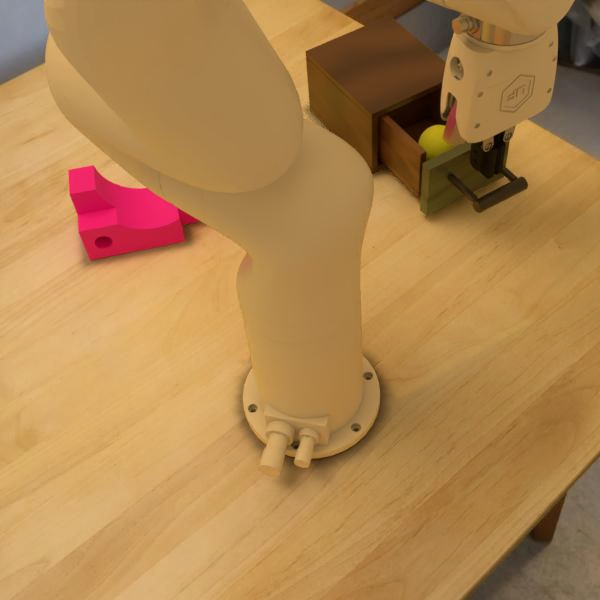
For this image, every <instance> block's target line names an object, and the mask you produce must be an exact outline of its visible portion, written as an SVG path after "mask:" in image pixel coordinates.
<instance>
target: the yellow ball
mask: <svg viewBox="0 0 600 600" xmlns="http://www.w3.org/2000/svg"><path fill="white" fill-rule="evenodd" d="M444 130H445V126H444V125H434V126H431V127H429V128H427V129H426V130H425V131H424V132H423V133H422V135H421V136H420V139H419V142H418V144H419V145H420V146H421V147H422V148H423V149H424V150H425V151H426V161H428V160H430V159H432V158H434V157H436V156H439V155H441V154H443V153H445V152H447V151H449V150H451V149H453V148H455V147H457V146H459V145H457V146H453V147H451V146H450V145H449V144H448V143H447V142H446V141H444V140H443V138H442V137H443V133H444Z"/></svg>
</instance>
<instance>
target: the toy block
mask: <svg viewBox="0 0 600 600" xmlns="http://www.w3.org/2000/svg"><path fill="white" fill-rule="evenodd" d="M67 172H68V174H67V175H68V191H69V198H70V199H71V202H72V205H73V207H74V210H75V212H76V214H77V230H78V231H77V232H78V234H79V236H80V239H81V242H82V244H83V247H84V249H85V251H86V254H87V257H88V259H89V261H93V260H98V259H99V260H100V259H104V258H107V257H108V258H109V257H114V256H119V255H124V254H129V253H133V252H139V251H144V250H149V249H154V248H159V247H164V246H169V245H173V244H180V243H184V242H186V237H185V232H184V225H190V224H195V223H200V222H201V221H200V220H198V219H196V218H194V217H193V216H191V215H189V214H188V213H186V212H184V211H182V210H181V209H179V208H177V207H176V206H174V205H172V204H171V203H169V202H167V201H166V200H164V199H162V198H161V197H159V196H158V195H156V194H155V193H153V192H152V191H150V190H149V189H148V188H146V187H138V188H136V187H128V186H123V185H120V184H117V183H116V182H115V183H114V182H113V181H111V180H109V179H107V178H106V177H104V176H103V175H102V174H101V173H100V171H98V170H97V168H96V166H95V165H94V164H92V165H87V166H81V167H75V168H71V169H68V171H67Z"/></svg>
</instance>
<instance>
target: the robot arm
mask: <svg viewBox="0 0 600 600" xmlns="http://www.w3.org/2000/svg"><path fill="white" fill-rule="evenodd" d="M426 1H427V2H430V3H432V4H435V5H438V6H440V7H443V8H445V9H447V10H452V11H456V12H458V13H460V14H459V15H458V17H456V18H454V19H452V21H451V28H452V30H453V34H452V38H451V41H450V44H449V48H448V52H447V56H446V61H445V62H446V65H445V70H444V76H443V83H442V92H441V109H440V110H441V118H442V120H444V121H447V123H446V126H445V130H444V133H443V137H442V138H443V140H444V141H446V142H447V143H448V144H449V145H450V146H451V147H453V146H457V145H460V144H464V143H465V142H468V143H471V151H470V164H471V166H472V167H473V168H474V169H475V170H476V171H479V172H480V173H481V174H482V175H483V176H484V177H486V178H487V179H490V178H492V177H493V175H494V174H496V175H498V174H500V173H501V172H502V168H503V161H504V154H505V148H506V144H505V143H506V142H507V141H509V140H510V141H511V140H512V138H513V136H514V134H515V130H516V127H517V125H519V124H521V123H522V122H525V121H526V120H529V119H530V118H532V117H534V116H537V115H538V114H540V113H541V112H543V111H544V110H545V109H547V107H548V106H549V105H550V103H551V101H552V97H553V94H554V87H555V81H556V75H557V74H556V73H557V65H558V54H559V53H558V51H559V31H558V23H559V22H560V21H561V20H562V19H564V17H565V16H566V15H567V13H568V12H569V11H570V9H571V7H572V6H573V4H574V2H575V1H576V0H426ZM43 10H44V12H43V13H44V19H45V24H46V26H47V29H48V31H49V33H48V37H47V40H46V46H45V52H44V53H45V55H44V65H45V67H44V68H45V74H46V81H47V85H48V88H49V91H50V94H51V97H52V98H53V101H54V102H55V104H56V107H57V108H58V110H59V111H60V113H61V114H62V116H63V117H64V118H65V119H66V120H67V122H69V124H70V125H72V126H73V127H74V128H75V129H76V130H77V131H78V132H79V133H80V134H82V135H83V136H84V137H85V138H86V139H87V140H88V141H90V142H91V143H92V144H93V145H94V146H95V147H97V148H98V149H99V150H100V151H102V153H103V154H105V155H106V156H107V157H108V158H109V159H111V160H112V161H113V162H114V163H115V164H117V165H118V166H119V167H120V168H121V169H122V170H124V171H125V172H126V173H127V174H128V175H130V176H131V177H132V178H134V180H136V181H137V182H138V183H140V184H141V185H142V186H143V187H144V188H148V189H149V190H150V191H152V192H153V193H155V194H156V195H158V196H159V197H161V198H162V199H164V200H166V201H167V202H169V203H171V204H172V205H174V206H176V207H177V208H179V209H181V210H182V211H184V212H186V213H188V214H189V215H191V216H193V217H194V218H196V219H198V220H200V222H201V223H203V224H204V225H206V226H208V227H210V228H211V229H212V230H214V231H215V232H216V233H218V234H220V235H222V236H223V237H225V238H227V239H228V240H230V241H231V242H233V243H235V245H237V246H239V247H240V248H241V249H242V250H244V251H245V253H246V254H244V256H243V258H242V260H241V262H240V264H239V266H238V269H237V273H236V282H235V283H236V286H235V287H236V294H237V301H238V304H239V305H238V306H239V309H240V313H241V317H242V322H243V326H244V332H245V337H246V338H245V339H246V343H247V347H248V352H249V357H250V361H251V366H252V367H251V369H250V370H249V372H248V374H247V376H246V379H245V381H244V384H243V389H242V406H243V412H244V415H245V419H246V421H247V423H248V425H249V427H250V429H251V431H252V432H253V433H254V434H255V436H256V437H257V438H258V439H259V440H260V441H261V442H262V443H263V444H265V447H264V448H263V451H262V454H261V457H260V461H259V464H258V467H257V469H258V471H259V472H260V473H262V474H264V475H265V476H269V477H278V476H280V474H281V472H282V468H283V465H284V462H285V458H286V456H288V457H291V458H294V460H293V464H294V465H295V466H296V467H299V468H301V469H308V468H309V467H310V465H311V461H312V460H313V459H322V458H327V457H332V456H334V455H337V454H340V453H343V452H345V451H347V450H348V449H350V448H352V447H353V446H354V445H356V444H357V443H358V442H360V441H361V440H362V439H363V438H364V437H365V436H366V435H367V433H368V432H369V431H370V430H371V428H372V427H373V425H374V423H375V421H376V419H377V417H378V415H379V409H380V406H381V405H380V404H381V387H380V381H379V378H378V375H377V373H376V370H375V369H374V367H373V365H372V364H371V362H370V361H369V360H368V359H367V357H365V355H364V354H363V331H362V330H363V329H362V328H363V326H362V291H361V261H362V251H363V245H364V239H365V235H366V230H367V227H368V222H369V218H370V214H371V211H372V206H373V201H374V191H375V182H374V177H373V174H372V173H371V170H370V168H369V166H368V164H367V163H366V161H365V160H364V159H363V157H362V156H361V155H360V154H359V153H358V152H357V151H356V150H355V149H354V148H353V147H352V146H350V145H349V144H348V143H347V142H345V141H344V140H343V139H341V138H340V137H338V136H336V135H335V134H333V133H332V132H331V131H330V130H329V129H327V128H324V127H323V126H321V125H318V124H317V123H315V122H313V121H311V120H309V119H306V118H304V112H303V107H302V104H301V98H300V95H299V92H298V90H297V88H296V85H295V83H294V80H293V77H292V75H291V73H290V72H289V70H288V68H287V67H286V66H285V63H284V62H283V61H282V59H281V58H280V56H279V55H278V53H277V51H276V50H275V48H274V47H273V46H272V44H271V42H270V41H269V39H268V37H267V36H266V34H265V33H264V32H263V29H262V28H261V26H260V25H259V24H258V22H257V20H256V19H255V17H254V16H253V14H252V12H251V11H250V9H249V8H248V6H247V5H246V3H245V1H244V0H43Z"/></svg>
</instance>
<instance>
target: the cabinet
mask: <svg viewBox="0 0 600 600" xmlns="http://www.w3.org/2000/svg"><path fill="white" fill-rule="evenodd" d="M305 65H306V76H307V77H306V78H307V89H308V101H309V111H310V112H311V113H312V114H313V115H314V116H315V117H316V118H317V119H318V120H319V121H320V122H321V123H322V124H323V125H324V126H325V127H326V129H327V130H328V131H330V132H332V133H333V134H335V135H336V136H338V137H340V138H341V139H343V140H344V141H345V142H347V143H348V144H349V145H350V146H352V147H353V148H354V149H355V150H356V151H357V152H358V153H359V154H360V155H361V156H362V157H363V159H364V160H365V161H366V163H367V164H368V166H369V168H370V170H371V173H372V175H373V174H374V173H375V174H376V173H377V172H379V171H382V170H384V169H385V168H388V167H387V166H386V165H385V164H384V163H383V162H382V161H381V160H380V159H379V158H378V118H377V117H379V116H382V115H384V114H386V113H388V112H390V111H392V110H395V109H397V108H399V107H401V106H403V105H405V104H408V103H410V102H412V101H414V100H416V99H418V98H421V97H423V96H425V95H427V94H429V93H431V92H434V91H436V90H438V89H440V88H442V83H443V76H444V70H445V65H446V61H445V59H444V58H442V57H441V56H440V55H438V54H437V53H435V51H434V50H432V49H431V48H430V47H428V46H427V45H426V44H425V43H424V42H422V41H421V40H420V39H419V38H418V37H416V36H415V35H414V34H413V33H411V32H410V31H409V30H408V29H407V28H406V27H404V26H403V25H402V24H400V23H399V22H398V21H397V20H396V19H394V17H392V16H391V15H387V16H385V17H383V18H380V19H378V20H375V21H372V22H371V23H368V24H366V25H363V26H361V27H359V28H356V29H354V30H352V31H350V32H347V33H344V34H343V35H340V36H338V37H335V38H333V39H331V40H328V41H326V42H323V43H321V44H319V45H316V46H314V47H312V48H309V49H307V50H305Z"/></svg>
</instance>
